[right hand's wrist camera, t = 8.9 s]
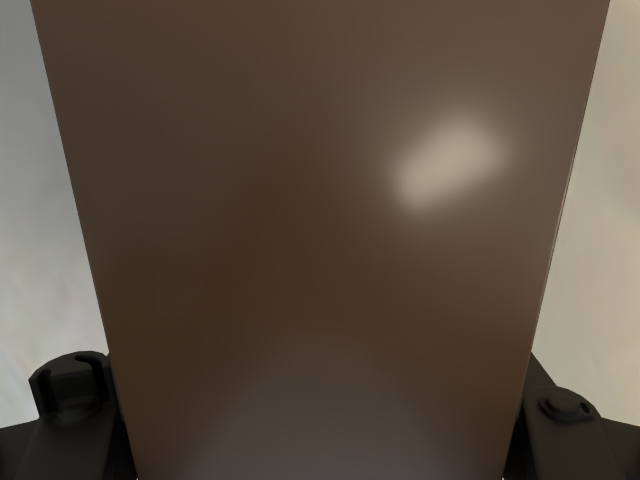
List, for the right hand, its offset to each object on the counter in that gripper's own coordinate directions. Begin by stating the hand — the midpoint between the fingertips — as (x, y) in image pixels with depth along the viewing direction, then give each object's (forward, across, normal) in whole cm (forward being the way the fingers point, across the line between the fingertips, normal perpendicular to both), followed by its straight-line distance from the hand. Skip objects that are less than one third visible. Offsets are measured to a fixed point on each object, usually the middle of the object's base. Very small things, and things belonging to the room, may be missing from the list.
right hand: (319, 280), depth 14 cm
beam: (0, 0, -18) cm, 19 cm away
